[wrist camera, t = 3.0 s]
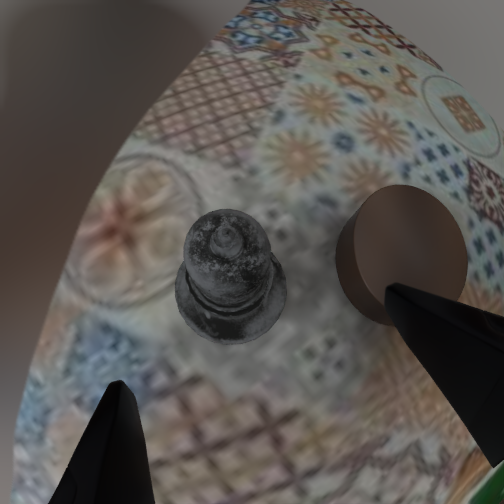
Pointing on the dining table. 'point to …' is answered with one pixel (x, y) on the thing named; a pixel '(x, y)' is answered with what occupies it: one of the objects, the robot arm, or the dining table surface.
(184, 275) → the grey stone chess piece
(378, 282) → the walnut puck
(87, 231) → the dining table surface
